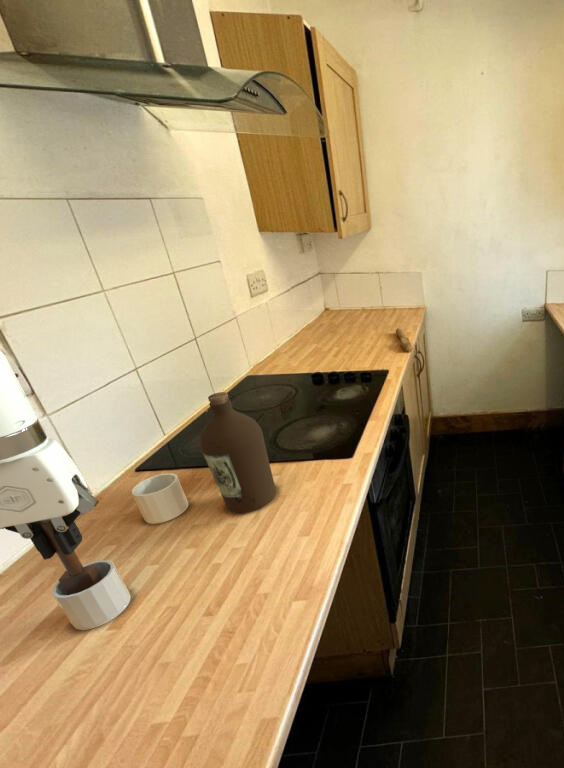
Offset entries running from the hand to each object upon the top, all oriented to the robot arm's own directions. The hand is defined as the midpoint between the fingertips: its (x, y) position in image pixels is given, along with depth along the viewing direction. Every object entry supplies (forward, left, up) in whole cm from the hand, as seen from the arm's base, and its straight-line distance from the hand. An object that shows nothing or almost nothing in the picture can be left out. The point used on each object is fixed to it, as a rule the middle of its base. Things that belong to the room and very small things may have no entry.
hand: (63, 549), depth 61 cm
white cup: (+1, +24, -13) cm, 27 cm away
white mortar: (0, 0, -13) cm, 13 cm away
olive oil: (+17, +22, -13) cm, 31 cm away
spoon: (0, 0, -9) cm, 9 cm away
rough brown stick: (+61, +121, -13) cm, 136 cm away
